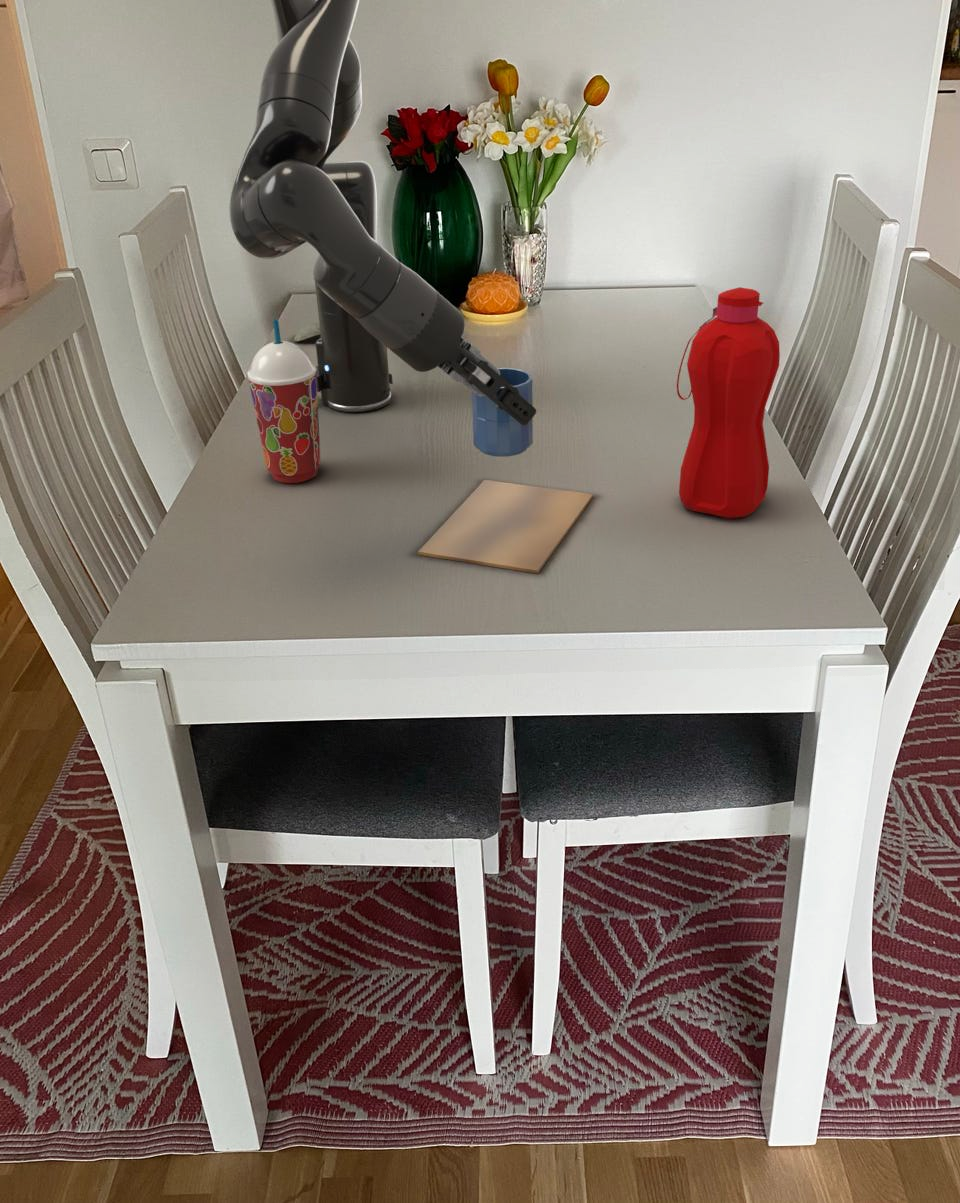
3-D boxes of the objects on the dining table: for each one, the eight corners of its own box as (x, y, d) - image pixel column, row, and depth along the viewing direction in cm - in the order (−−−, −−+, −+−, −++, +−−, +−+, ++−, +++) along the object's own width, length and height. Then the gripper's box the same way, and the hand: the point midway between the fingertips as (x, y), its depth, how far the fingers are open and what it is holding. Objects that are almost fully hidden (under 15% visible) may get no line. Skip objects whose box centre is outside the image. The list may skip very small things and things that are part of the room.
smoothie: (338, 465, 149) (322, 312, 138) (309, 491, 142) (290, 332, 132) (281, 458, 151) (261, 307, 141) (249, 484, 144) (226, 327, 134)
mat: (418, 554, 126) (417, 551, 126) (484, 482, 142) (484, 479, 142) (538, 574, 122) (538, 570, 122) (593, 497, 138) (593, 494, 137)
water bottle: (685, 478, 141) (698, 274, 129) (772, 495, 136) (795, 284, 124) (656, 508, 134) (666, 294, 122) (746, 527, 129) (767, 306, 117)
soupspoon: (297, 336, 199) (291, 350, 194) (294, 317, 197) (288, 331, 192) (424, 328, 198) (421, 342, 192) (422, 309, 196) (419, 322, 190)
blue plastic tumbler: (464, 454, 126) (462, 384, 122) (486, 433, 131) (484, 365, 127) (520, 461, 124) (519, 390, 120) (540, 439, 129) (540, 371, 125)
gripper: (458, 303, 110) (567, 400, 119) (406, 270, 121) (510, 361, 131) (409, 366, 111) (522, 457, 120) (363, 327, 122) (469, 413, 132)
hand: (515, 407), depth 126 cm, fingers closed on blue plastic tumbler, 6 cm apart
